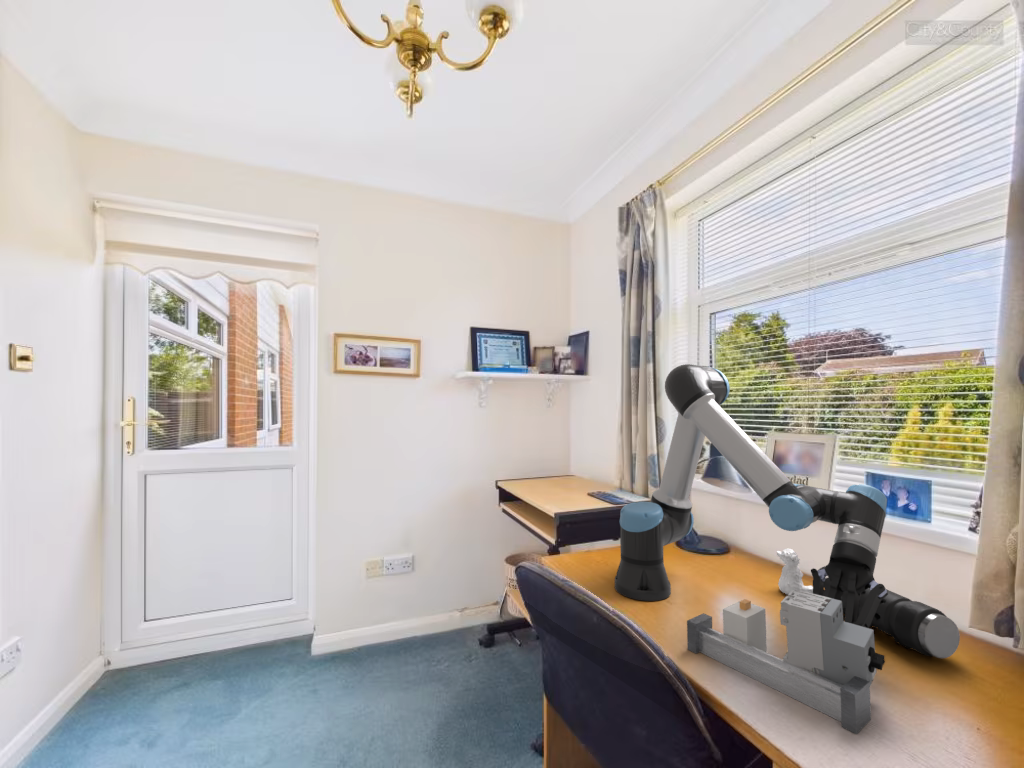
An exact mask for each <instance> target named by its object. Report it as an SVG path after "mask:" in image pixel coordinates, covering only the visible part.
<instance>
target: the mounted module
mask: <svg viewBox="0 0 1024 768" xmlns="http://www.w3.org/2000/svg"><path fill="white" fill-rule="evenodd" d="M766 620H767V619H766V608H765V607H763V606H760V605H757V604H754V603H752V602H751V600H749V599H745V598H744V599H743V600H739V601H737V602H735V603H732V604H730V605H727V606H726V607H724V608H722V630H723V631H722V633H723V634H725V635H728V636H730V637H732V638H734V639H737V640H739V641H741V642H744V643H746V644H748V645H750V646H753V647H755V648H757V649H760V650H762V651H764V652H766V653H768V651H767V649H768V648H767V647H768V646H767V626H766V625H767V622H766Z"/></svg>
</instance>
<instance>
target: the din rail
mask: <svg viewBox="0 0 1024 768" xmlns="http://www.w3.org/2000/svg"><path fill="white" fill-rule="evenodd" d="M686 632H687V634H686V636H687V637H686V638H687V639H686V641H687V650H688V651H690V652H692V653H694V654H696V655H697V654H698V653H701V654H702V655H705V656H706V657H709V658H711V659H713V660H715V661H716V662H718V663H721V664H723V665H725V666H727V667H729V668H732V669H733V670H735V671H738V672H739V673H741V674H743V675H746V676H747V677H749V678H751V679H753V680H755V681H757V682H760V683H761V684H764V685H766V686H767V687H770V688H772V689H773V690H775V691H778V692H779V693H781V694H783V695H786V696H788V697H790V698H792V699H794V700H795V701H798V702H800V703H802V704H804V705H805V706H807V707H810V708H812V709H814V710H816V711H818V712H820V713H823V714H824V715H826V716H828V717H830V718H833V719H835V720H837V721H838V722H840V723H841V728H843V729H845V730H847V731H849V732H851V733H853V734H855V735H858V734H859V732H860V731H861V730H863V729H864V727H865V726H867V724H869V722H870V721H871V720H872V713H871V691H870V690H871V689H870V688H871V686H870V683H869V681H866V680H864V679H862V678H859V677H856V676H854V677H853V678H852V679H851V680H850V681H848V682H847V683H846V684H845V685H844V686H842V685H840V684H838V683H835V682H833V681H831V680H828V679H826V678H824V677H821V676H819V675H817V674H815V673H812V672H810V671H808V670H805V669H803V668H801V667H799V666H796V665H794V664H791V663H789V662H786V661H783V658H780V657H778V656H775V655H773V654H770V653H769V652H767V653H766V652H764V651H762V650H760V649H757V648H755V647H753V646H750V645H748V644H746V643H744V642H741V641H739V640H737V639H734V638H732V637H730V636H728V635H725V634H723V632H720V631H719V630H716V629H714V628H713V616H711V615H709V614H707V613H701V614H699V615H696V616H694V617H692V618H690V619H687V620H686Z"/></svg>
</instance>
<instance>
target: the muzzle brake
mask: <svg viewBox="0 0 1024 768" xmlns="http://www.w3.org/2000/svg"><path fill="white" fill-rule="evenodd" d="M825 567H826V565H825V566H822V567H820V568H819V569H818V570H822V569H825ZM825 578H826V579H825V581H824V582H823V584H824V596H825V597H827V596H828V593H829V591H830V584H831V581H830V579H829V577H828V575H827V576H826V577H825ZM886 590H887V592H888V595H887V596H886V597H885V598H884V599H882V600H881V602H880V604H879V606H878V608H877V611H876V613H875V615H874V617H873V620H872V622H871V624H870V626H869V628H875V629H877V630H879V631H881V632H882V633H885V634H887V635H888V636H890V637H893V640H894V641H895V643H897V644H900V645H901V646H903V647H904V648H906V649H907V650H914V651H916V652H918V653H920V654H921V655H924V656H928V657H935V658H938V659H941V660H942V659H947V658H950V657H951V656H953V655H954V654H955V653H956V651H957V650H958V647H959V645H960V640H961V638H960V637H961V635H960V630H959V628H958V626H957V624H956V623H955V621H954V620H953V619H951V618H950V617H948V616H947V615H946V614H945V613H944V612H943V611H941V610H940V609H938V608H935V607H933V606H930V605H928V604H925V603H924V602H921V601H917V600H912V599H910V598H908V597H905V596H903V595H901V594H898V593H896V592H894V591H891V590H888V589H886ZM870 591H871V590H870V587H869V588H868V589H866V590H865V591H863V592H861V597H860V601H859V606H858V614H857V619H858V616H859V614H860V612H861V610H862V608H863V605H864V603H865V601H866V599H867V597H868V594H869V592H870ZM847 596H848V592H844V593H843V595H842V596H841V598H840V601H842V609H843V615H845V612H846V604H847Z"/></svg>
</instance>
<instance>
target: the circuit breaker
mask: <svg viewBox="0 0 1024 768" xmlns="http://www.w3.org/2000/svg"><path fill="white" fill-rule="evenodd" d="M779 616H780V617H779V618H780V625H782V626H785V629H786V643H787V645H786V647H787V652H786V653H785V655H783V657H782V659H783V661H786V662H789V663H791V664H794V665H796V666H799V667H801V668H803V669H805V670H808V671H810V672H812V673H815V674H817V675H819V676H821V677H824V678H826V679H828V680H831V681H833V682H835V683H838V684H840V685H842V686H844V685H845V684H846V683H847V682H848V681H850V680H851V679H852V678H853V677H854V676H856V677H859V678H862V679H864V680H866V681H869V683H870V687H871V686H872V683H873V681H874V679H875V676H876V673H877V670H878V671H882V670H883V666H884V665H885V663H886V660H885V657H886V656H885V655H884V654H882V653H881V654H880V653H877V652H876V644H875V634H874V631H875V630H874V629H872V628H870V627H869V628H865V627H862V626H858V625H855V624H851V623H848V622H844V613H843V609H842V601H840V600H836V599H832V598H829V597H825V596H821V595H817V594H813V593H809V592H805V591H801V590H800V591H797V590H795V589H793V590H792V591H791V592H790V593H789V594H788V595H786V596H785V597H784V598H783V599H782V600H781V601H780V610H779Z"/></svg>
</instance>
